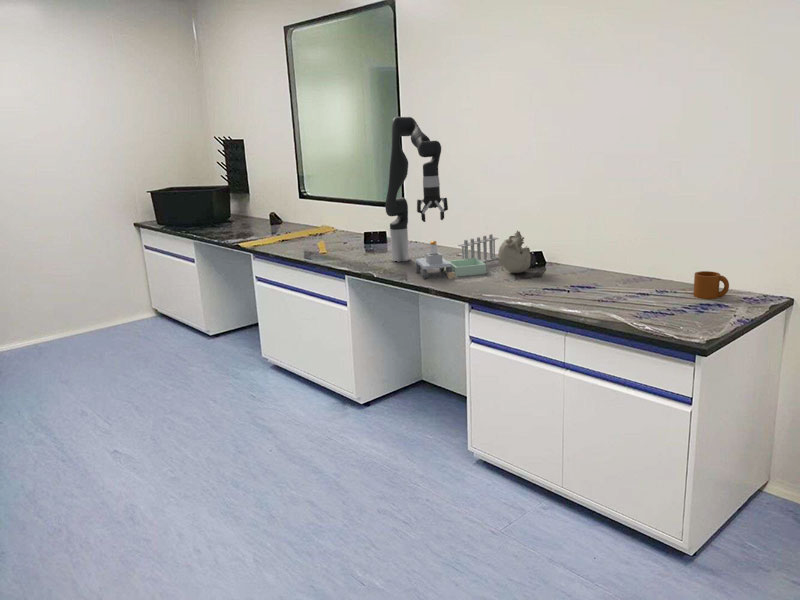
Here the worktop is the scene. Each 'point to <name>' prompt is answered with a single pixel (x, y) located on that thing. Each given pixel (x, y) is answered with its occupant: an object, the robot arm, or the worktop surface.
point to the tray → (468, 267)
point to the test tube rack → (484, 241)
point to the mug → (709, 285)
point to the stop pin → (433, 248)
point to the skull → (514, 254)
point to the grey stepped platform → (433, 264)
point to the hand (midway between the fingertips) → (433, 220)
